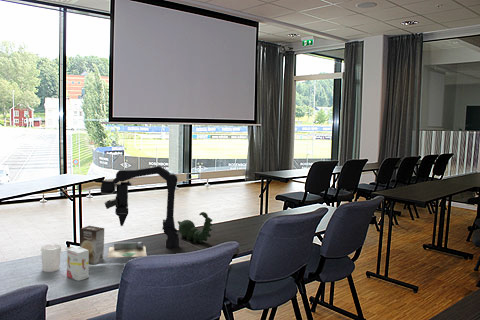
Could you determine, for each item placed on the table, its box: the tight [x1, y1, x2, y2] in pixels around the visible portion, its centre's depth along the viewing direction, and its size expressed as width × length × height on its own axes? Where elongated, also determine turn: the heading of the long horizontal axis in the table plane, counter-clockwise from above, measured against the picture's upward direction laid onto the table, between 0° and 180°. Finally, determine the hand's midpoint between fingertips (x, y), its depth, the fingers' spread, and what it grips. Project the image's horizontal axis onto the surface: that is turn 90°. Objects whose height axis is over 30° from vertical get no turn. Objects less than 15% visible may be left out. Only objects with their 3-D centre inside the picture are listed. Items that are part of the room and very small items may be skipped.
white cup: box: [40, 243, 62, 273], centre depth 177 cm, size 8×8×10 cm
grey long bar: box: [113, 241, 144, 249], centre depth 208 cm, size 14×4×3 cm, turn 105°
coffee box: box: [79, 225, 105, 266], centre depth 189 cm, size 9×6×16 cm
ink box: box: [66, 246, 90, 281], centre depth 170 cm, size 9×5×12 cm, turn 55°
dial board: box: [107, 245, 147, 259], centre depth 204 cm, size 18×17×1 cm
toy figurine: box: [177, 211, 213, 244], centre depth 232 cm, size 9×19×25 cm
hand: (121, 223), depth 211 cm, fingers open, 9 cm apart
